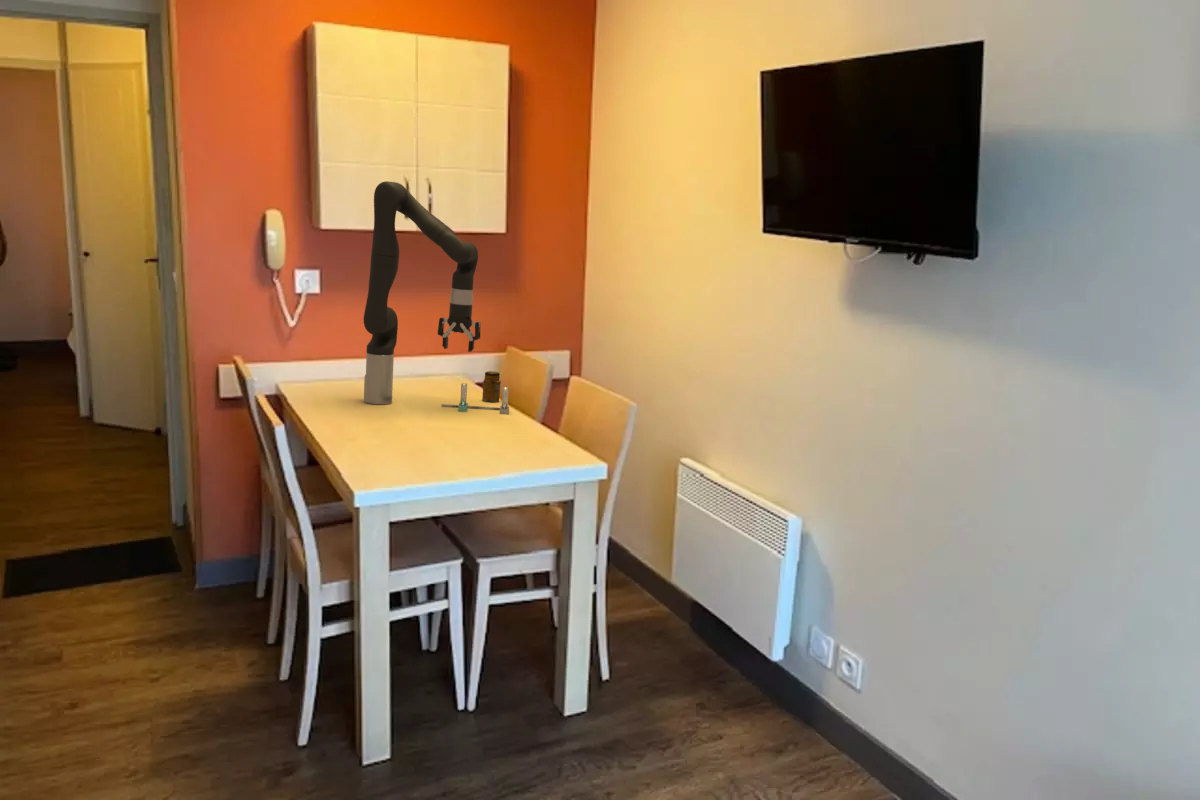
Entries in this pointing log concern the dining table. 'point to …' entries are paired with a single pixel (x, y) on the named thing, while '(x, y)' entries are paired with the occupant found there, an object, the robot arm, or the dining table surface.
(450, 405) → the gauge board
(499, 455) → the dining table surface
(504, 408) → the fixed leg
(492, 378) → the condiment
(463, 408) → the slider leg
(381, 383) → the robot arm
